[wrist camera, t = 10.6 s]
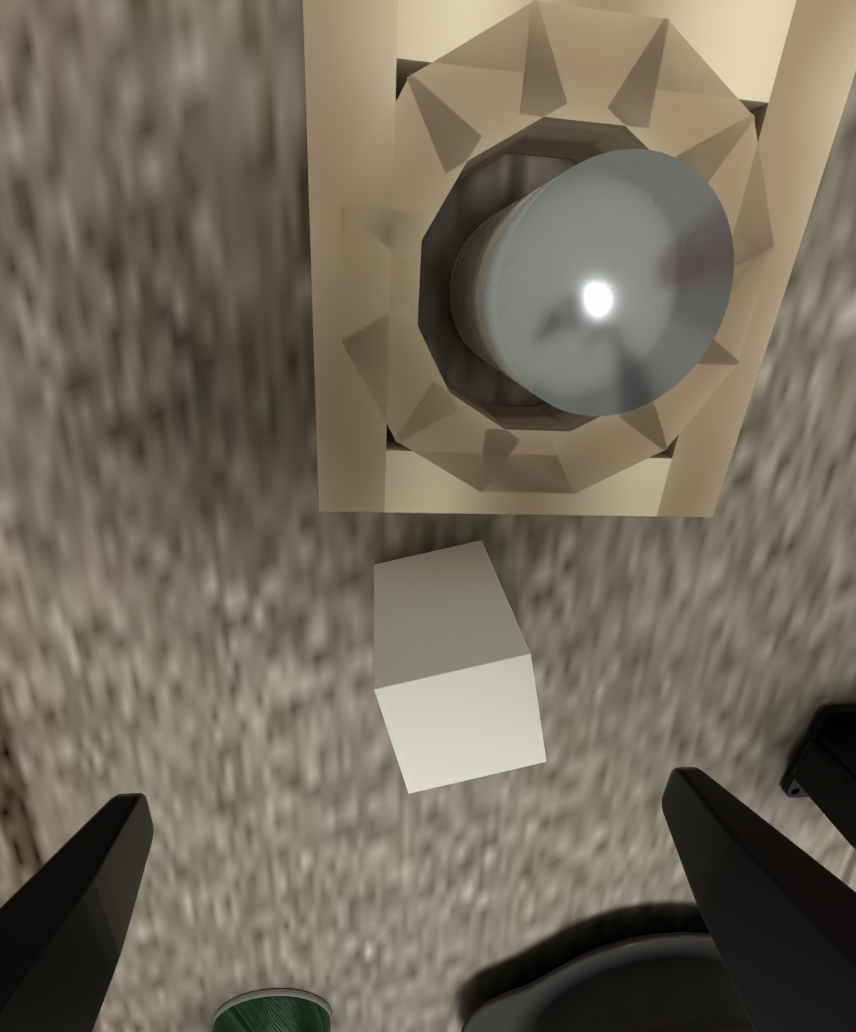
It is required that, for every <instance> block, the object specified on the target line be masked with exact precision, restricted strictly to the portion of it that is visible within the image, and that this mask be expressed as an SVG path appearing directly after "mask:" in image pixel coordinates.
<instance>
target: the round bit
mask: <svg viewBox="0 0 856 1032" xmlns="http://www.w3.org/2000/svg"><path fill="white" fill-rule="evenodd" d="M733 274H734V248H733V240H732V234H731V230H730V226H729V222H728V218H727V216H726V213H725V211H724V209H723V206H722V204H721V202H720V200H719V199H718V197H717V195H716V194H715V192H714V190H713V189H712V188H711V186H710V185H709V184H708V183H707V182H706V180H705V179H704V178H703V177H702V176H701V175H700V174H699V173H698V172H696V171H695V170H694V169H693V168H692V167H691V166H689V165H687V164H686V163H684V162H682V161H681V160H679V159H677V158H675V157H672V156H670V155H667V154H665V153H662V152H658V151H652V150H647V149H623V150H616V151H610V152H607V153H603V154H600V155H597V156H594V157H591V158H589V159H587V160H585V161H583V162H581V163H579V164H577V165H575V166H573V167H572V168H570V169H568V170H567V171H565V172H563V173H562V174H560V175H558V176H557V177H555V178H553V179H552V180H550V181H549V182H547V183H545V184H544V185H542V186H540V187H539V188H537V189H535V190H534V191H532V192H530V193H529V194H527V195H525V196H524V197H522V198H520V199H519V200H517V201H515V202H514V203H512V204H510V205H509V206H507V207H505V208H504V209H502V210H500V211H499V212H497V213H495V214H494V215H492V216H491V217H489V218H488V219H486V220H485V221H484V222H482V223H481V224H480V225H479V226H478V227H477V228H476V229H475V230H474V231H473V232H472V233H471V234H470V236H469V237H468V238H467V240H466V241H465V243H464V244H463V246H462V248H461V250H460V252H459V253H458V255H457V258H456V261H455V263H454V266H453V270H452V274H451V279H450V287H449V301H450V310H451V314H452V318H453V321H454V324H455V327H456V329H457V331H458V333H459V335H460V337H461V339H462V340H463V341H464V343H465V344H466V346H467V347H468V348H469V349H470V350H471V351H472V352H473V353H474V354H475V355H477V356H478V357H479V358H480V359H482V360H483V361H485V362H486V363H488V364H489V365H491V366H492V367H494V368H495V369H497V370H498V371H500V372H501V373H503V374H504V375H506V376H507V377H509V378H510V379H512V380H513V381H515V382H516V383H518V384H519V385H521V386H522V387H524V388H525V389H527V390H528V391H530V392H531V393H533V394H534V395H536V396H537V397H539V398H540V399H542V400H543V401H545V402H547V403H548V404H550V405H552V406H554V407H556V408H558V409H561V410H563V411H566V412H570V413H573V414H577V415H585V416H609V415H615V414H621V413H624V412H628V411H631V410H635V409H637V408H639V407H642V406H644V405H646V404H648V403H650V402H652V401H654V400H655V399H657V398H659V397H661V396H662V395H664V394H665V393H666V392H668V391H669V390H670V389H672V388H673V387H674V386H676V385H677V384H678V383H679V382H680V381H681V380H682V379H683V378H684V377H686V376H687V374H688V373H689V372H690V371H691V370H692V369H693V368H694V367H695V366H696V364H697V363H698V362H699V360H700V359H701V358H702V356H703V355H704V354H705V352H706V351H707V349H708V348H709V346H710V344H711V343H712V341H713V339H714V337H715V336H716V334H717V331H718V329H719V327H720V325H721V323H722V320H723V318H724V315H725V312H726V309H727V306H728V303H729V298H730V294H731V289H732V283H733Z"/></svg>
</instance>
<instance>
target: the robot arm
mask: <svg viewBox="0 0 856 1032" xmlns="http://www.w3.org/2000/svg"><path fill="white" fill-rule="evenodd" d="M782 790H783V791H784V792H785V794H786V795H787V796H788V797H792V798H793V797H810V798H811V799H812V800H813V801H814V802H815V804H816V805H817V806H818V807H819V808H820V809H821V811H822V812H823V813H824V814H825V815H826V816H827V818H828V819H829V820H830V821H831V822H832V823H833V825H834V826H835V827H836V828H837V829H838V830H839V832H840V833H841V834H842V835H843V836H844V837H845V839H846V840H847V841H848V842H849V843H850V844H851V846H852V847H853V848H855V849H856V706H830V707H826V708H824V709H822V710H821V711H820V712H819V714H818V716H817V718H816V720H815V722H814V724H813V726H812V728H811V730H810V731H809V733H808V735H807V737H806V739H805V741H804V743H803V745H802V747H801V749H800V751H799V753H798V755H797V757H796V759H795V761H794V763H793V765H792V767H791V769H790V771H789V773H788V775H787V777H786V779H785V781H784V783H783V785H782ZM662 809H663V813H664V816H665V819H666V821H667V824H668V827H669V830H670V832H671V835H672V838H673V841H674V843H675V846H676V849H677V852H678V854H679V857H680V860H681V863H682V865H683V868H684V871H685V874H686V876H687V879H688V882H689V884H690V887H691V890H692V893H693V895H694V898H695V900H696V903H697V905H698V908H699V910H700V912H701V915H702V917H703V919H704V922H705V924H706V926H707V928H708V930H709V933H710V935H711V937H712V939H713V941H714V943H715V945H716V948H717V950H718V952H719V954H720V956H721V958H722V961H723V963H724V965H725V967H726V969H727V971H728V974H729V976H730V978H731V980H732V982H733V984H734V987H735V989H736V991H737V993H738V995H739V997H740V999H741V1002H742V1004H743V1006H744V1008H745V1010H746V1012H747V1015H748V1017H749V1019H750V1021H751V1023H752V1025H753V1028H754V1030H755V1032H856V892H855V891H854V890H852V889H851V888H850V887H849V886H847V885H846V884H845V883H843V882H842V881H841V880H840V879H838V878H837V877H836V876H835V875H833V874H832V873H831V872H830V871H828V870H827V869H826V868H824V867H823V866H822V865H821V864H819V863H818V862H817V861H816V860H814V859H813V858H812V857H811V856H809V855H808V854H807V853H806V852H804V851H803V850H802V849H800V848H799V847H798V846H797V845H795V844H794V843H793V842H792V841H790V840H789V839H788V838H787V837H785V836H784V835H783V834H781V833H780V832H779V831H778V830H776V829H775V828H774V827H773V826H771V825H770V824H769V823H768V822H766V821H765V820H764V819H762V818H761V817H760V816H759V815H757V814H756V813H755V812H754V811H752V810H751V809H750V808H749V807H747V806H746V805H745V804H744V803H742V802H741V801H740V800H738V799H737V798H736V797H735V796H733V795H732V794H731V793H730V792H728V791H727V790H726V789H725V788H723V787H722V786H721V785H719V784H718V783H717V782H716V781H714V780H713V779H712V778H711V777H709V776H708V775H707V774H706V773H704V772H703V771H702V770H700V769H698V768H696V767H678V768H675V769H673V770H672V772H671V774H670V777H669V779H668V782H667V785H666V788H665V790H664V793H663V796H662ZM152 838H153V823H152V819H151V815H150V811H149V807H148V803H147V799H146V796H145V795H144V794H142V793H130V794H119V795H116V796H115V797H113V798H112V799H111V800H109V801H108V802H107V803H106V804H105V805H104V806H103V807H102V808H101V809H100V810H99V811H98V812H97V813H96V814H95V815H94V816H93V817H92V818H91V819H90V820H89V821H88V822H87V823H86V824H85V825H84V826H83V827H82V828H81V829H80V830H79V831H78V832H77V833H76V834H75V835H74V836H73V837H72V838H71V839H70V840H69V841H68V842H67V843H66V844H65V845H64V846H63V847H62V848H61V849H60V850H59V851H58V852H57V853H56V854H55V855H54V856H53V857H52V858H51V859H50V860H48V861H47V862H46V863H45V864H44V865H43V866H42V867H41V868H40V869H39V870H38V871H37V872H36V873H35V874H34V875H33V876H32V877H31V878H30V879H29V880H28V881H27V882H26V883H25V884H24V885H23V886H22V887H21V888H20V889H19V890H18V891H17V892H16V893H15V894H14V895H13V896H12V897H11V898H10V899H9V900H8V901H7V902H6V903H5V904H4V905H3V906H2V907H1V908H0V1032H92V1030H93V1028H94V1025H95V1022H96V1020H97V1017H98V1014H99V1012H100V1009H101V1006H102V1004H103V1001H104V998H105V996H106V993H107V991H108V988H109V985H110V983H111V980H112V977H113V974H114V972H115V969H116V966H117V963H118V960H119V957H120V954H121V951H122V948H123V944H124V941H125V937H126V934H127V930H128V927H129V923H130V919H131V916H132V912H133V908H134V905H135V901H136V898H137V894H138V890H139V887H140V883H141V880H142V876H143V872H144V869H145V865H146V861H147V858H148V854H149V851H150V847H151V843H152Z"/></svg>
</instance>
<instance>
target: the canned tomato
mask: <svg viewBox="0 0 856 1032" xmlns="http://www.w3.org/2000/svg"><path fill="white" fill-rule="evenodd" d="M331 1021H332V1013H331V1010H330V1007H329V1005H328V1004H327V1003H326V1002H325V1001H324V1000H323V999H321V998H320V997H318V996H316V995H314V994H311V993H309V992H305V991H301V990H295V989H278V988H276V989H264V990H259V991H254V992H250V993H247V994H244V995H241V996H239V997H236V998H234V999H232V1000H230V1001H229V1002H227V1003H226V1004H224V1005H223V1006H222V1007H221V1008H220V1009H219V1010H218V1011H217V1013H216V1014H215V1016H214V1018H213V1022H212V1032H330V1024H331Z"/></svg>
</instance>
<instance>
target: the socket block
mask: <svg viewBox="0 0 856 1032" xmlns="http://www.w3.org/2000/svg"><path fill="white" fill-rule="evenodd" d="M303 23H304V55H305V86H306V118H307V150H308V182H309V213H310V245H311V277H312V309H313V341H314V372H315V404H316V436H317V468H318V499H319V512H388V513H457V514H527V515H596V516H665V517H713V514H714V511H715V508H716V504H717V501H718V498H719V495H720V492H721V489H722V486H723V483H724V480H725V476H726V473H727V470H728V467H729V464H730V461H731V458H732V455H733V452H734V448H735V445H736V442H737V439H738V436H739V433H740V430H741V427H742V424H743V420H744V417H745V414H746V411H747V408H748V405H749V402H750V399H751V396H752V392H753V389H754V386H755V383H756V380H757V377H758V374H759V371H760V368H761V364H762V361H763V358H764V355H765V352H766V349H767V346H768V343H769V340H770V336H771V333H772V330H773V327H774V324H775V321H776V318H777V315H778V312H779V308H780V305H781V302H782V299H783V296H784V293H785V290H786V287H787V284H788V280H789V277H790V274H791V271H792V268H793V265H794V262H795V259H796V256H797V252H798V249H799V246H800V243H801V240H802V237H803V234H804V231H805V228H806V225H807V221H808V218H809V215H810V212H811V209H812V206H813V203H814V200H815V197H816V193H817V190H818V187H819V184H820V181H821V178H822V175H823V172H824V169H825V165H826V162H827V159H828V156H829V153H830V150H831V147H832V144H833V141H834V137H835V134H836V131H837V128H838V125H839V122H840V119H841V116H842V113H843V109H844V106H845V103H846V100H847V97H848V94H849V91H850V88H851V85H852V81H853V78H854V75H855V72H856V1H855V0H303ZM623 149H647V150H652V151H658V152H662V153H665V154H667V155H670V156H672V157H675V158H677V159H679V160H681V161H682V162H684V163H686V164H687V165H689V166H691V167H692V168H693V169H694V170H695V171H696V172H698V173H699V174H700V175H701V176H702V177H703V178H704V179H705V180H706V182H707V183H708V184H709V185H710V186H711V188H712V189H713V190H714V192H715V194H716V195H717V197H718V199H719V200H720V202H721V204H722V206H723V209H724V211H725V213H726V216H727V218H728V222H729V226H730V230H731V234H732V240H733V248H734V274H733V283H732V289H731V294H730V298H729V303H728V306H727V309H726V312H725V315H724V318H723V320H722V323H721V325H720V327H719V329H718V331H717V334H716V336H715V337H714V339H713V341H712V343H711V344H710V346H709V348H708V349H707V351H706V352H705V354H704V355H703V356H702V358H701V359H700V360H699V362H698V363H697V364H696V366H695V367H694V368H693V369H692V370H691V371H690V372H689V373H688V374H687V376H686V377H684V378H683V379H682V380H681V381H680V382H679V383H678V384H677V385H676V386H674V387H673V388H672V389H670V390H669V391H668V392H666V393H665V394H664V395H662V396H661V397H659V398H657V399H655V400H654V401H652V402H650V403H648V404H646V405H644V406H642V407H639V408H637V409H635V410H631V411H628V412H624V413H621V414H615V415H609V416H585V415H577V414H573V413H570V412H566V411H563V410H561V409H558V408H556V407H554V406H552V405H550V404H548V403H547V402H544V403H542V404H540V405H538V406H536V407H532V406H507V405H482V404H480V403H479V402H477V401H476V400H474V399H473V398H471V397H470V396H468V395H467V394H465V393H464V392H462V391H461V390H459V389H458V388H456V387H455V386H453V385H452V384H450V383H449V382H447V381H446V380H444V379H443V378H442V376H441V374H440V372H439V370H438V367H437V365H436V363H435V361H434V359H433V357H432V355H431V353H430V351H429V349H428V346H427V344H426V342H425V340H424V338H423V336H422V334H421V332H420V330H419V327H418V306H419V285H420V265H421V244H422V239H423V237H424V235H425V234H426V232H427V230H428V228H429V227H430V225H431V223H432V221H433V220H434V218H435V216H436V215H437V213H438V211H439V209H440V208H441V206H442V204H443V202H444V201H445V199H446V197H447V195H448V194H449V192H450V190H451V189H452V187H453V185H454V183H456V182H458V181H460V180H461V179H463V178H465V177H467V176H468V175H470V174H472V173H474V172H475V171H477V170H479V169H481V168H482V167H484V166H486V165H488V164H489V163H491V162H493V161H495V160H496V159H498V158H500V157H502V156H503V155H505V154H507V153H513V154H523V155H533V156H543V157H553V158H563V159H572V160H574V161H575V162H576V163H577V164H579V163H581V162H583V161H585V160H587V159H589V158H591V157H594V156H597V155H600V154H603V153H607V152H610V151H616V150H623Z"/></svg>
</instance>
